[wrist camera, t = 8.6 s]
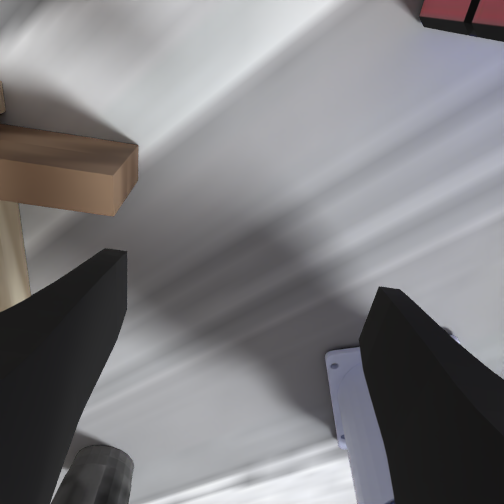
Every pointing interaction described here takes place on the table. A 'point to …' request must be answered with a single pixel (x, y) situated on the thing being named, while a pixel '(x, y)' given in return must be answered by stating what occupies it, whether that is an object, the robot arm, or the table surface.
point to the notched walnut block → (65, 170)
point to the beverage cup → (97, 478)
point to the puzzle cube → (465, 17)
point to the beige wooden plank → (11, 250)
